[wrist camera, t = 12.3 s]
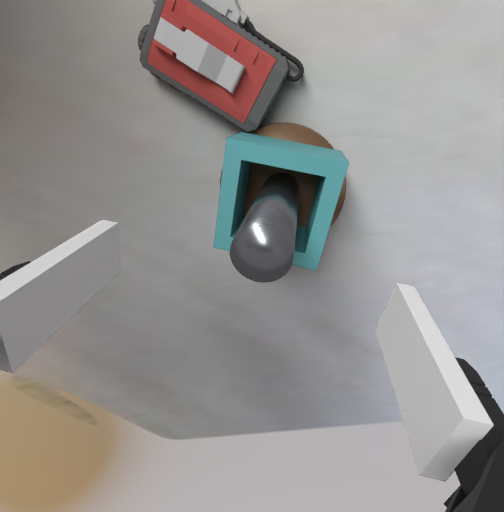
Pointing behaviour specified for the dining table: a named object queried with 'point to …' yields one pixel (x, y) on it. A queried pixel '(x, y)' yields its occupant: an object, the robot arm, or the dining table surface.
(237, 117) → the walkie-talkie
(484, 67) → the dining table surface
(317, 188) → the collar
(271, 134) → the post base
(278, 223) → the post
